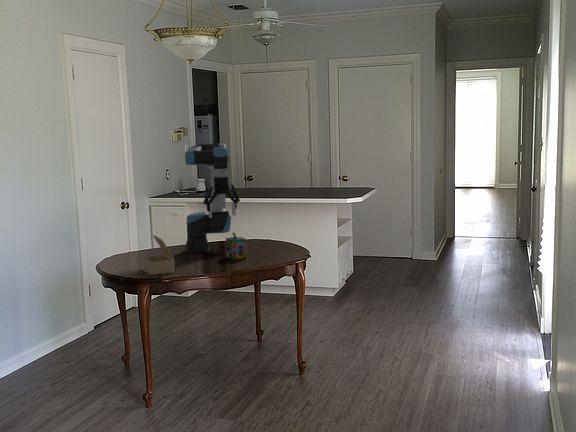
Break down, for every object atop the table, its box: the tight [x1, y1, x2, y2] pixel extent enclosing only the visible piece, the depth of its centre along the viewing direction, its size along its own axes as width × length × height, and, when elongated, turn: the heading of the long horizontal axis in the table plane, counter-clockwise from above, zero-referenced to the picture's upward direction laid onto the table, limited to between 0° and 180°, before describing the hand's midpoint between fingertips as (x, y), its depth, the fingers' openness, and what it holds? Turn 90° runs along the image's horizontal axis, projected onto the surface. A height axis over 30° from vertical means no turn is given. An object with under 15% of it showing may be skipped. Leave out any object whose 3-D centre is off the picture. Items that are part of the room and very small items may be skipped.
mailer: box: [141, 254, 176, 276], centre depth 329 cm, size 15×13×7 cm
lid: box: [153, 234, 174, 259], centre depth 329 cm, size 15×11×1 cm
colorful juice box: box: [225, 231, 247, 261], centre depth 358 cm, size 9×9×15 cm
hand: (222, 216), depth 334 cm, fingers open, 13 cm apart
